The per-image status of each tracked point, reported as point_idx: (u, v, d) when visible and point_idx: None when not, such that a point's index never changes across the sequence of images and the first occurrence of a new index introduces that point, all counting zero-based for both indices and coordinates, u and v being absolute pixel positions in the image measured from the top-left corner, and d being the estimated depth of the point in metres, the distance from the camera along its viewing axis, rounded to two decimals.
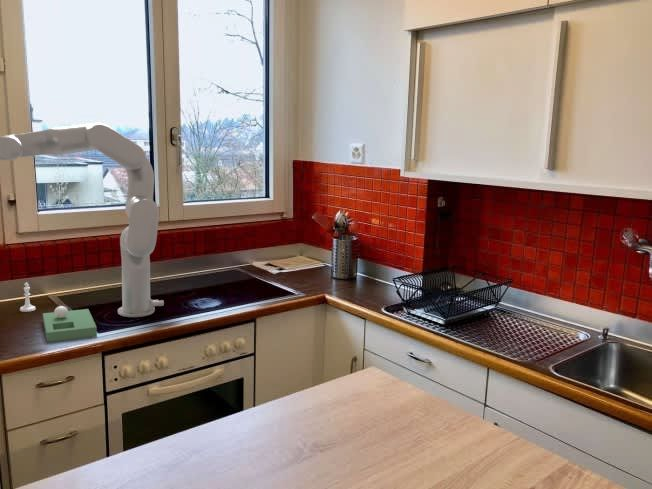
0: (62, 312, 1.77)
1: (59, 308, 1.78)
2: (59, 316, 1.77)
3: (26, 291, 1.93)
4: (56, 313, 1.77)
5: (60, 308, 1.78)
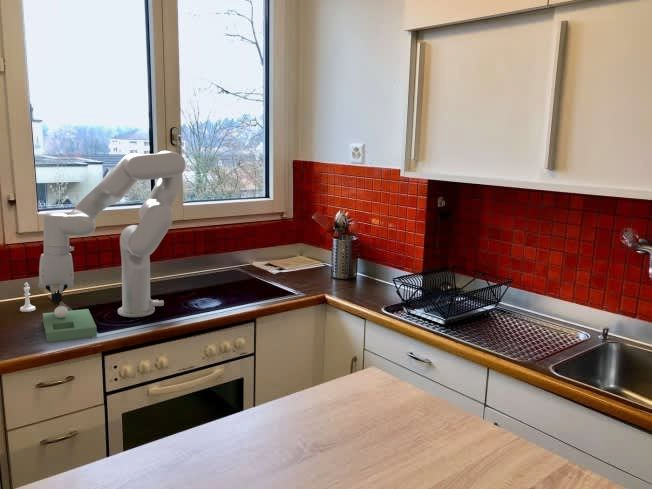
0: (62, 312, 1.77)
1: (59, 308, 1.78)
2: (59, 316, 1.77)
3: (26, 291, 1.93)
4: (56, 313, 1.77)
5: (60, 308, 1.78)
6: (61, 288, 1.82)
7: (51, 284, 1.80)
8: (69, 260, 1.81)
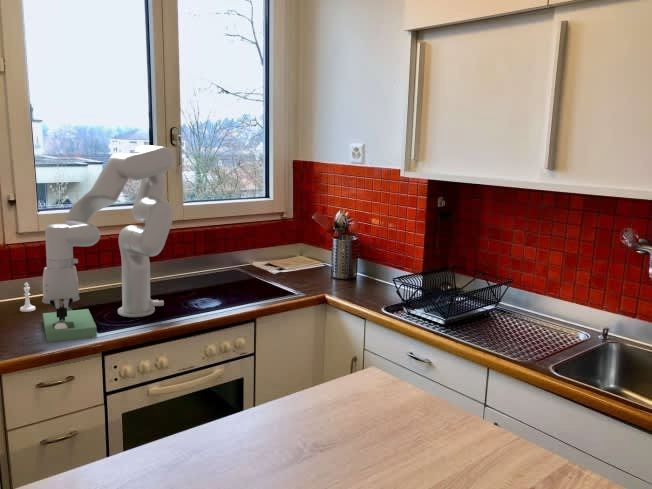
0: (63, 323, 1.72)
1: None
2: (60, 324, 1.71)
3: (26, 291, 1.93)
4: (57, 324, 1.71)
5: None
6: (66, 302, 1.75)
7: (55, 299, 1.73)
8: (73, 273, 1.73)
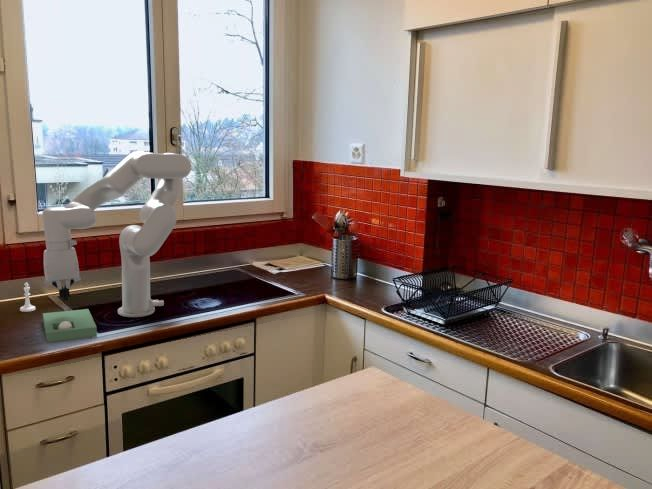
0: None
1: None
2: (68, 322, 1.73)
3: (26, 291, 1.93)
4: None
5: None
6: (68, 283, 1.80)
7: (57, 280, 1.78)
8: (73, 254, 1.78)
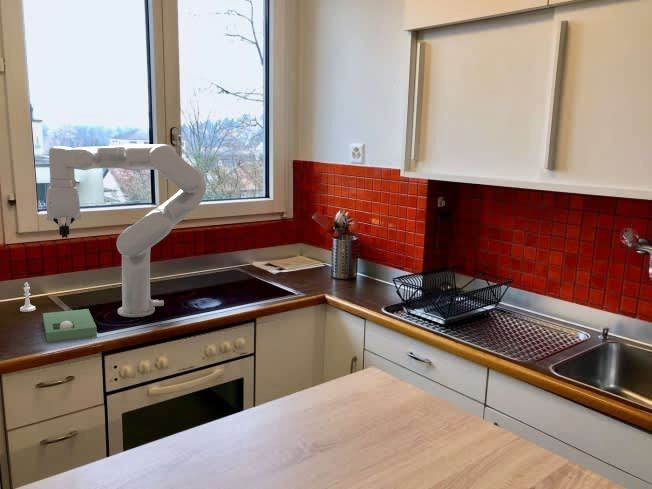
0: None
1: None
2: (71, 322, 1.74)
3: (26, 291, 1.93)
4: None
5: None
6: (68, 221, 1.88)
7: (58, 216, 1.85)
8: (75, 193, 1.86)
